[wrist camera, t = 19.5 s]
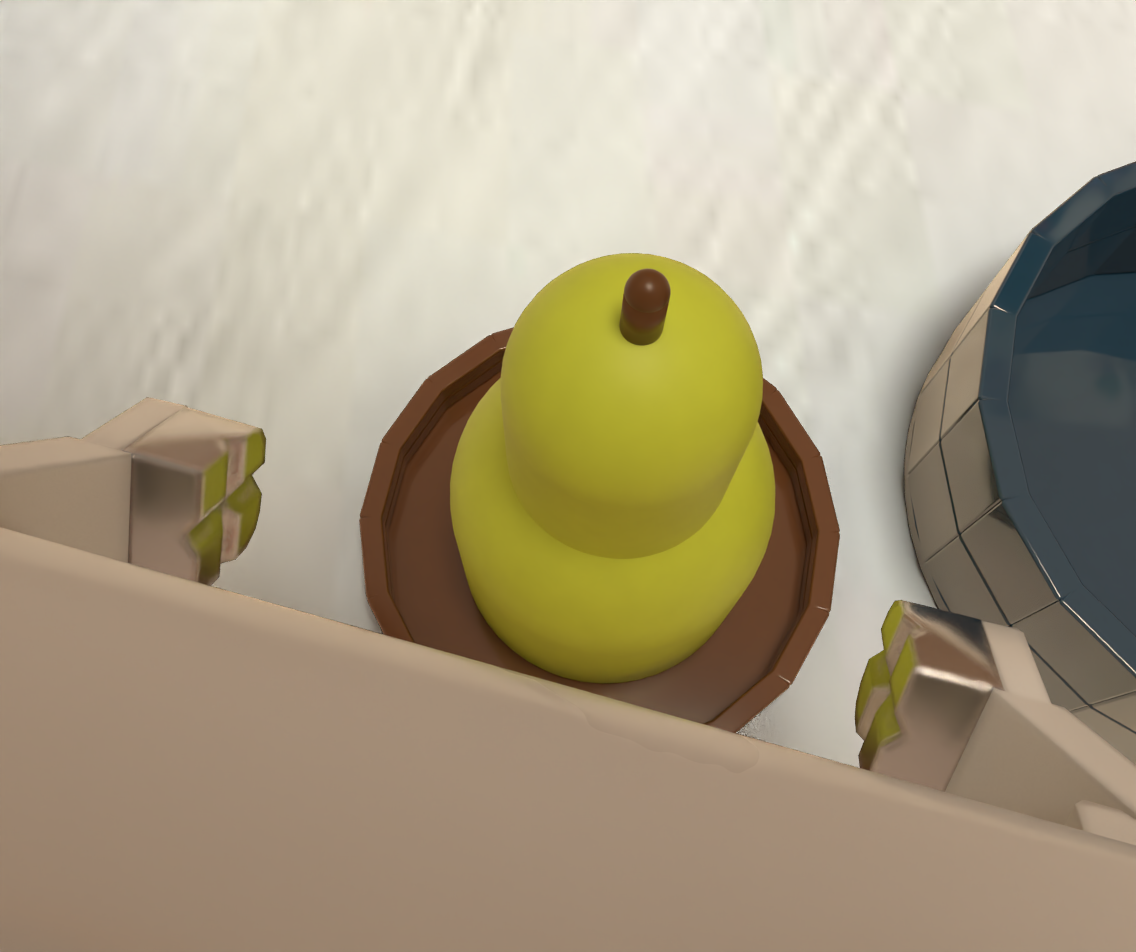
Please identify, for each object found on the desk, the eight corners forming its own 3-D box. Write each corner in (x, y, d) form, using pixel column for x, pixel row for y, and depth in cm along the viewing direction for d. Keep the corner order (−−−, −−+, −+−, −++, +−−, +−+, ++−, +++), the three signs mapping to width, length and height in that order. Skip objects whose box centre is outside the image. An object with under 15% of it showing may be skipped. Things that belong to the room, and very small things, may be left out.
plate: (278, 617, 24) (262, 602, 23) (528, 269, 28) (527, 237, 26) (680, 874, 23) (689, 875, 21) (898, 473, 26) (917, 450, 24)
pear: (407, 587, 24) (290, 352, 13) (557, 367, 26) (565, 1, 15) (654, 740, 23) (753, 625, 12) (792, 500, 25) (986, 212, 14)
